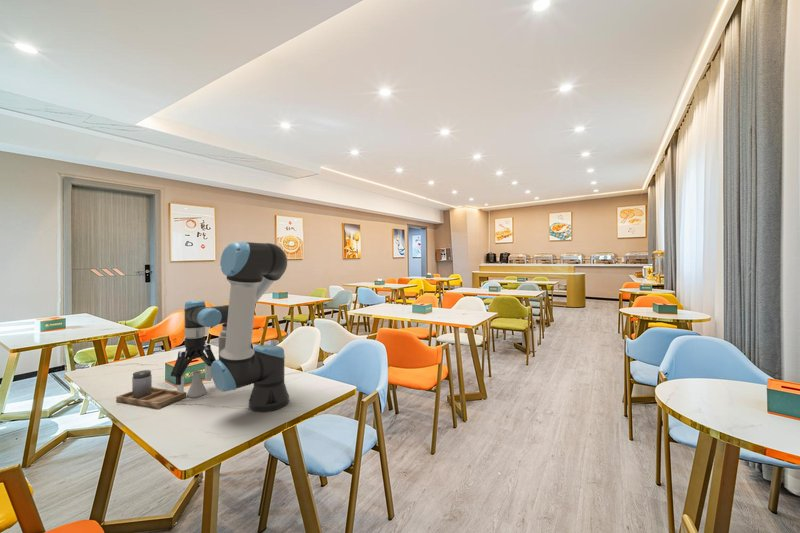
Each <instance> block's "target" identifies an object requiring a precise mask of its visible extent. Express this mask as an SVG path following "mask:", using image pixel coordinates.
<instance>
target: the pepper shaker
mask: <svg viewBox="0 0 800 533" xmlns="http://www.w3.org/2000/svg"><path fill="white" fill-rule="evenodd" d="M152 379H153V378H152V371H151V370H150V369H145V370H139V371H136V372H133V373H132V380H131V381H132V383H131V384H132V385H131V386H132V390H131V391H132V398H135V399H140V398H143V397H145V396H148V395H151V394H152V387H153V384H152Z"/></svg>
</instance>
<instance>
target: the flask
mask: <svg viewBox="0 0 800 533" xmlns="http://www.w3.org/2000/svg"><path fill="white" fill-rule="evenodd" d="M191 373H192V380H191V384H190V386H189V389H188V391H187V392H186V398H189V399H190V398H199V397H202V396H205V395H206V394H208V390H207V389H206V387H205V385H204V383H203V380H202V377H201V376H202V375H201V373H202V371H201V370H195V371H192V372H191Z"/></svg>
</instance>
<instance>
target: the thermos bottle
mask: <svg viewBox="0 0 800 533" xmlns="http://www.w3.org/2000/svg"><path fill="white" fill-rule="evenodd" d="M221 326H222V330H221V331H219V335H218V355H219V354H220V351H221V350H223V349H224V348H225V340H226V330H227V323H223V324H221Z"/></svg>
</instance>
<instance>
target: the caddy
mask: <svg viewBox="0 0 800 533" xmlns="http://www.w3.org/2000/svg"><path fill="white" fill-rule="evenodd" d="M186 398H187V391H184V392H182V393H181V392H177V390H174V389H167V388H161V387H154V386H152V394H151V395H148V396H145V397H143V398H140V399H135V398H132V390H131V391H129V392H126V393H124V394H120V395H117V396H116V397H115V402H116V403H120V404H125V405H131V406H137V407H141V408H143V407H144V408H148V409H154V410H160V409H163V408H165V407H167V406H169V405H172V404H175V403H177V402H179V401H182V400H184V399H186Z"/></svg>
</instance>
